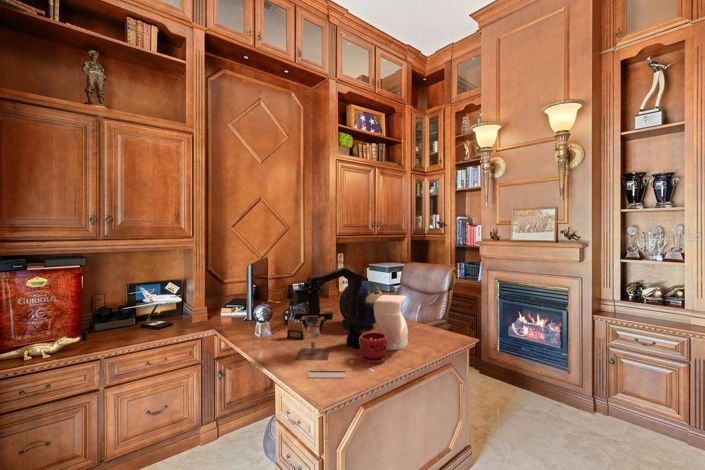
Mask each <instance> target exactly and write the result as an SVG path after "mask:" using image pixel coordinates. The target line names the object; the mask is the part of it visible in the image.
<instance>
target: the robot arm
mask: <svg viewBox="0 0 705 470" xmlns="http://www.w3.org/2000/svg"><path fill="white" fill-rule="evenodd" d="M341 277H342V278H344V279H346V280H347V286H348V287H349V301H348V311H347V317H346V319H344V318H343V319H342V324H341V327H342V330H343V331H344V333H345V335H347V337H346V347H349V348H353V349H355V350H359V349H360V350H361V345H360V336H361V335H362V334H363V332H362V331H361V330H360V329H359V327H358V322H357V319H356V312H357V301H358V291H359V289H360V288H361V286H362V282H363V281H364V278H363V276H362V274H359V273H356V272H354V271H351V269H349V268H347V267H340V268H338V269H335V270H332V271H329V272H326V273H323V274H313V275H309V276H308V277H306V280H305V283H304V285H303V286H302V288H301V289H294V292H293V294H292V303H294V305H297V304H300V305H301V304H306V303H307V305H306V310H307V313H305V311H301V310H299V311H295V313H294V315H293V320H294V319H295V321H296V320H298V321H299V320H300V321H302V323H303V325H304V330H305V331H306V333H307V326H308V325H309V323H308V318H320V322H319V324H320V333H322V329H323V326H324V323H325V322H327V321H329V320H333V317H334V313H333V311H324V313H321V305H320V293H324V289H322V288H321V287H323V286H324V285H325V284H326V283H328V282H331V281H334V280H336V279H339V278H341Z"/></svg>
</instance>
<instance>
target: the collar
mask: <svg viewBox="0 0 705 470" xmlns="http://www.w3.org/2000/svg"><path fill="white" fill-rule="evenodd" d="M321 333H322V332H321ZM321 333H320V323H308V326H307V332H306V338H311V339H312V338H313V339H315V338H318V339H319V338H320V337H321Z"/></svg>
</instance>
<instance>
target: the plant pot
mask: <svg viewBox="0 0 705 470" xmlns="http://www.w3.org/2000/svg"><path fill="white" fill-rule="evenodd" d="M379 338H380V339H379ZM359 346H360V350H361V353H362V360H363V361H364V362H365V363H367V364H381V363H384V362H385V361H386V359H387V355H386V352H387V350H386V349H387V336H386V335H385V334H383V333H378V331H376V332H375V331H374V332H366V333H362V335H361V336H360V337H359Z"/></svg>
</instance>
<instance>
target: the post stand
mask: <svg viewBox="0 0 705 470" xmlns="http://www.w3.org/2000/svg"><path fill="white" fill-rule="evenodd" d="M310 345H311V347H309V348H307V347H305V348H304V347H300V348H299V350H298V352H297V354H296V355H295V358H294V361H329V357H330V351H331V347H328V348H324V347H323V348H321V347H319V348H318V347H317V348H316V342H315V341H311V343H310Z"/></svg>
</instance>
